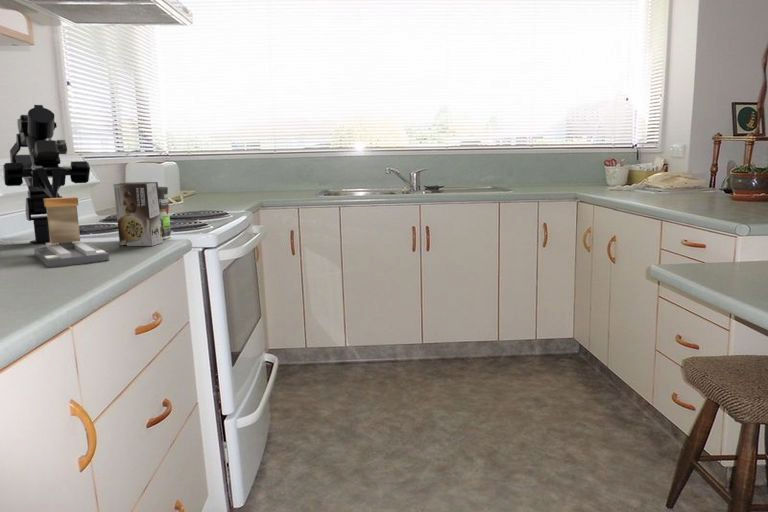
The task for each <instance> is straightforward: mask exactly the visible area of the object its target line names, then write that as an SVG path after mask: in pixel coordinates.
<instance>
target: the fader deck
mask: <svg viewBox="0 0 768 512" xmlns="http://www.w3.org/2000/svg"><path fill="white" fill-rule="evenodd" d="M72 244H73V247H68V248H63V247H61V246H60V245H59V243H55V244H52V243H45V246H44V247H34V248H33V251H34V256H36V257H37V258H38V259H39V260H40V261H41V262H42V263H43V264H44V265H45V266H46V267H48V268H54V267H63V266H72V265H73V266H74V265H81V264H90V262H92V263H99V262H98V261H100V262H106V261H105V260H109V261H110V254H109V252H107V251H105V250H103V249H101V248H100V247H97V246H95V245H94V244H92V243H90V242H85V243H84V242H82V241H81V240H80V241H76V242H72Z"/></svg>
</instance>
